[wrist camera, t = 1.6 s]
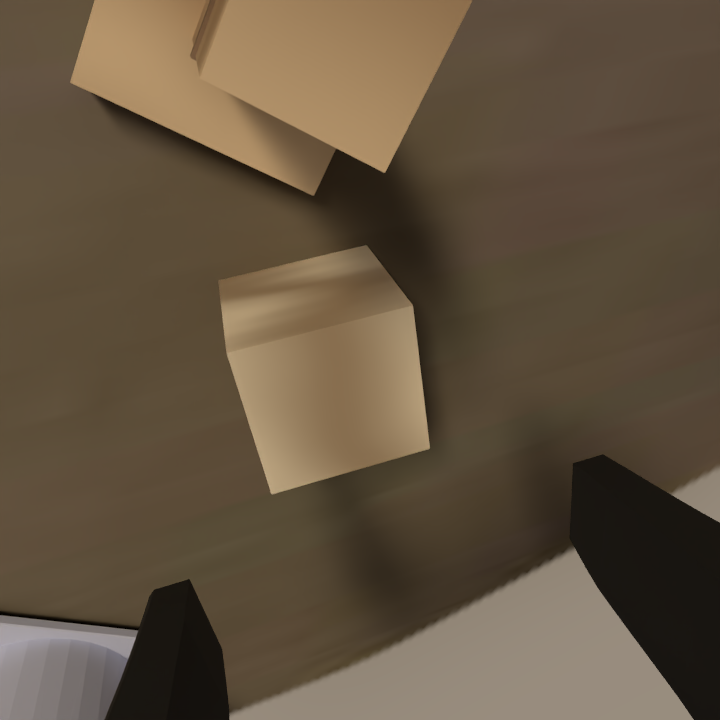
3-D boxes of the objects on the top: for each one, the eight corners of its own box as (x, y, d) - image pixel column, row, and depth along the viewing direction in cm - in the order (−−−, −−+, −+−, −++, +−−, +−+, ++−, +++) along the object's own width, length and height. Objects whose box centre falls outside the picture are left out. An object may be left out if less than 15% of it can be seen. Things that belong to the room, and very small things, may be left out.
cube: (255, 402, 20) (271, 494, 16) (218, 279, 18) (226, 353, 14) (385, 368, 21) (429, 448, 17) (365, 244, 18) (412, 305, 14)
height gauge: (305, 184, 17) (441, 382, 8) (78, 77, 14) (-103, 188, 5) (410, -43, 15) (756, -124, 6) (166, -215, 12) (112, -831, 3)
